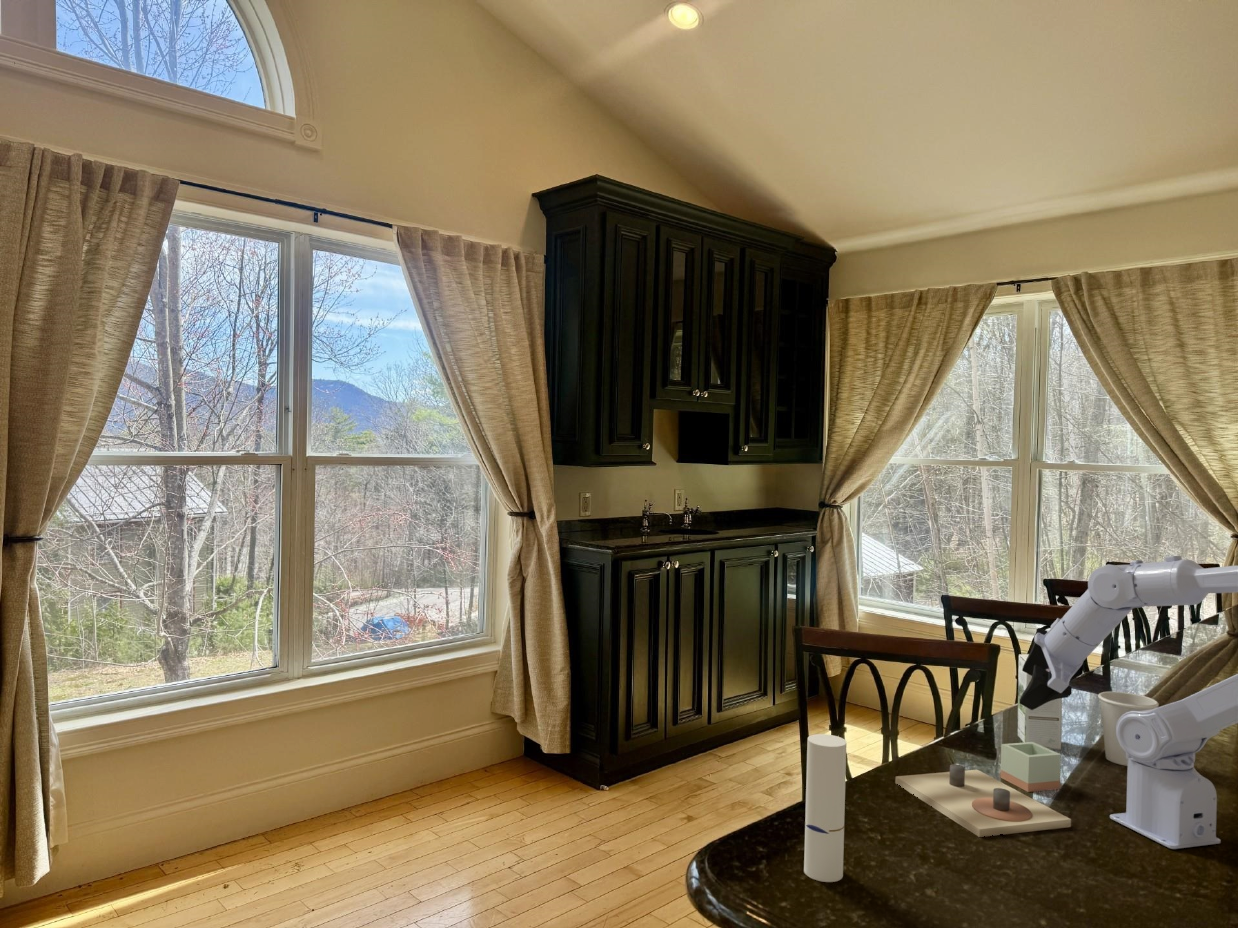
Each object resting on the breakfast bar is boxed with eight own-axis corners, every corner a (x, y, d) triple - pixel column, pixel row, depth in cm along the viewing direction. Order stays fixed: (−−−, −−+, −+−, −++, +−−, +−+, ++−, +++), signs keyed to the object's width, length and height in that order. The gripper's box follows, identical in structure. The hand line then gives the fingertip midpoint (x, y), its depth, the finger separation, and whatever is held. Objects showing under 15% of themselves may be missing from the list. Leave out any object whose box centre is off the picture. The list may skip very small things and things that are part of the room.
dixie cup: (1166, 772, 131) (1168, 707, 131) (1107, 766, 133) (1108, 703, 133) (1144, 754, 139) (1146, 693, 139) (1088, 749, 141) (1090, 689, 141)
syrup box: (1062, 750, 140) (1065, 662, 140) (1024, 746, 141) (1026, 660, 141) (1052, 739, 146) (1054, 655, 146) (1015, 736, 147) (1017, 652, 147)
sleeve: (1060, 788, 123) (1061, 754, 123) (1027, 791, 122) (1028, 756, 122) (1031, 774, 128) (1032, 741, 128) (1000, 777, 127) (1001, 744, 127)
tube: (836, 863, 98) (840, 734, 98) (847, 881, 94) (851, 746, 94) (799, 863, 98) (803, 733, 98) (809, 881, 94) (813, 746, 94)
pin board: (1070, 826, 110) (1071, 799, 110) (979, 836, 106) (980, 809, 106) (976, 775, 127) (977, 752, 127) (895, 783, 124) (896, 759, 123)
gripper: (1055, 587, 127) (1005, 645, 135) (1052, 645, 115) (998, 705, 123) (1101, 611, 126) (1048, 669, 133) (1103, 673, 114) (1044, 732, 122)
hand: (1027, 688), depth 128 cm, fingers open, 7 cm apart
